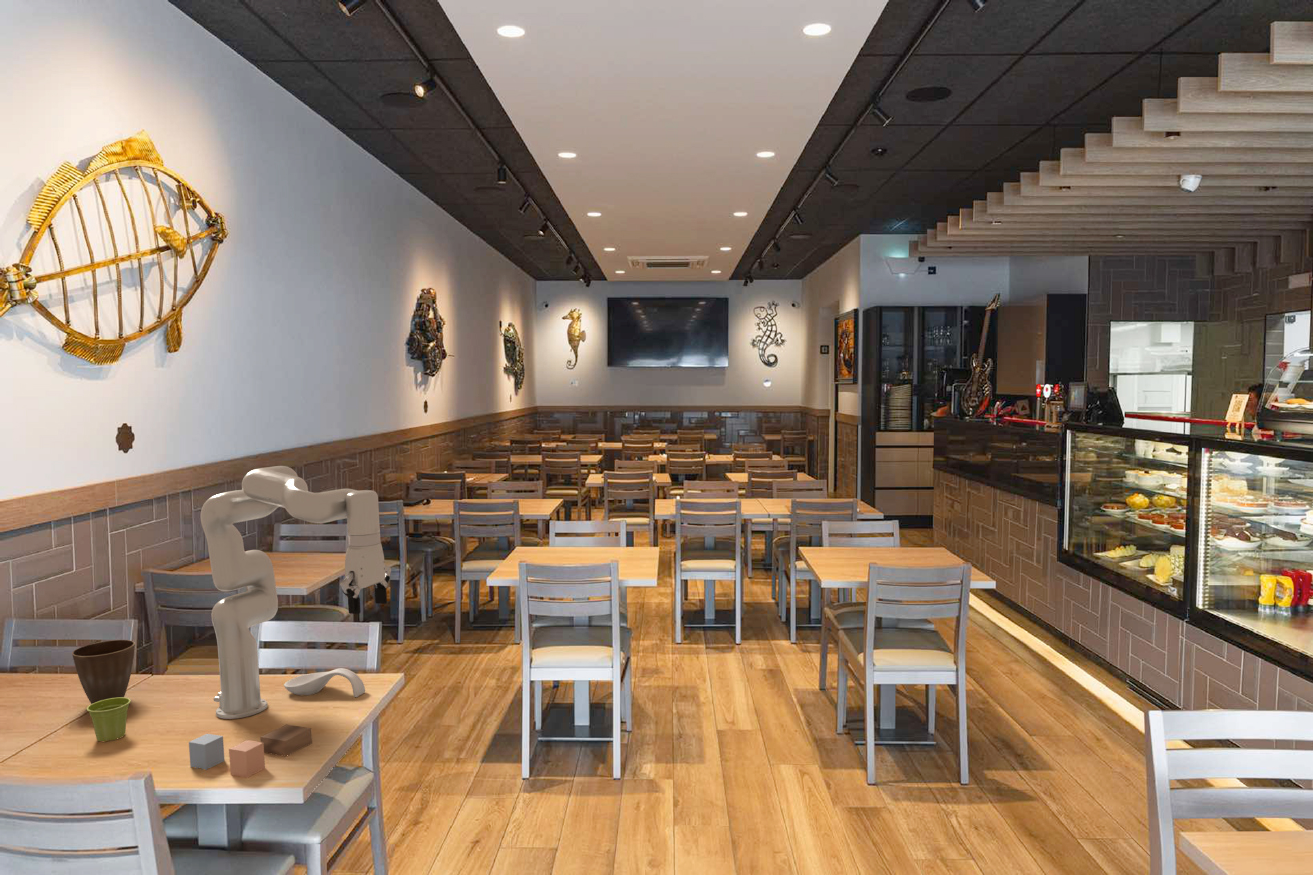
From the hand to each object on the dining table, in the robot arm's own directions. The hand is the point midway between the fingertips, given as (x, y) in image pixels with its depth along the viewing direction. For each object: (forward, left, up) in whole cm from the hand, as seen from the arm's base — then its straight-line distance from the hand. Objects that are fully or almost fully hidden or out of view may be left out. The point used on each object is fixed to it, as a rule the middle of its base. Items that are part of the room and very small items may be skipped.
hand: (368, 608), depth 215 cm
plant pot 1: (-88, -7, -31) cm, 94 cm away
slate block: (-25, -28, -31) cm, 49 cm away
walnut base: (-14, -15, -32) cm, 38 cm away
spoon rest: (-33, +18, -32) cm, 49 cm away
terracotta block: (-13, -28, -31) cm, 44 cm away
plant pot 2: (-63, -24, -31) cm, 74 cm away
